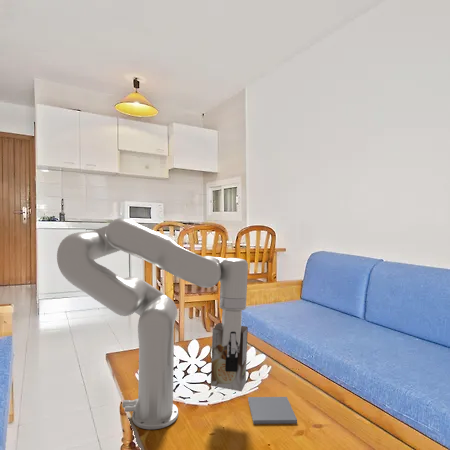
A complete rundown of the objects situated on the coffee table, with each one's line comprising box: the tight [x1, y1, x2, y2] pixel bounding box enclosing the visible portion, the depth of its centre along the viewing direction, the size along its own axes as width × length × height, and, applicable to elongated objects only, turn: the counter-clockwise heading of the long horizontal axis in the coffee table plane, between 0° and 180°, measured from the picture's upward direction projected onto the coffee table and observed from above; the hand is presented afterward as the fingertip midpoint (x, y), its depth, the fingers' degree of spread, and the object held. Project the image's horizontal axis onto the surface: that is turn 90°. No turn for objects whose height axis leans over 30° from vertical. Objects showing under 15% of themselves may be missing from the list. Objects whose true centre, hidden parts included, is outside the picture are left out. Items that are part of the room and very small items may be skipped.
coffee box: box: [210, 322, 249, 392], centre depth 94 cm, size 9×6×16 cm
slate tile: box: [247, 396, 298, 425], centre depth 97 cm, size 12×12×1 cm
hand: (230, 364), depth 94 cm, fingers closed on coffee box, 7 cm apart
